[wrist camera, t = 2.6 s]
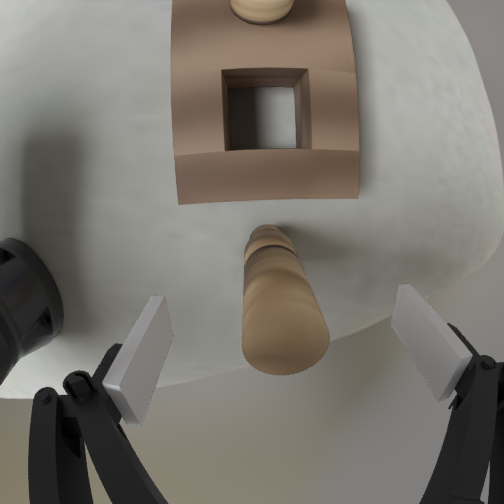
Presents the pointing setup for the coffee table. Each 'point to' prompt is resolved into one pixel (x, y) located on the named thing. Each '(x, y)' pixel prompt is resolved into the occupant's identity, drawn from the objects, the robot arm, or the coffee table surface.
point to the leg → (279, 307)
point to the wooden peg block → (263, 75)
